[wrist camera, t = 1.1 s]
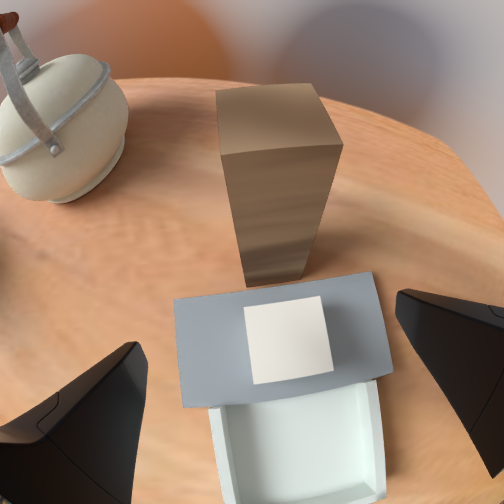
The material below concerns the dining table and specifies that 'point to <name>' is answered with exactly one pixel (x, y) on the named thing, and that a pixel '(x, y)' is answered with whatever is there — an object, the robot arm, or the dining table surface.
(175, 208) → the dining table surface
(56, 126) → the kettle
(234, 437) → the tray
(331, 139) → the walnut block
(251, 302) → the board
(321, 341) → the tile
